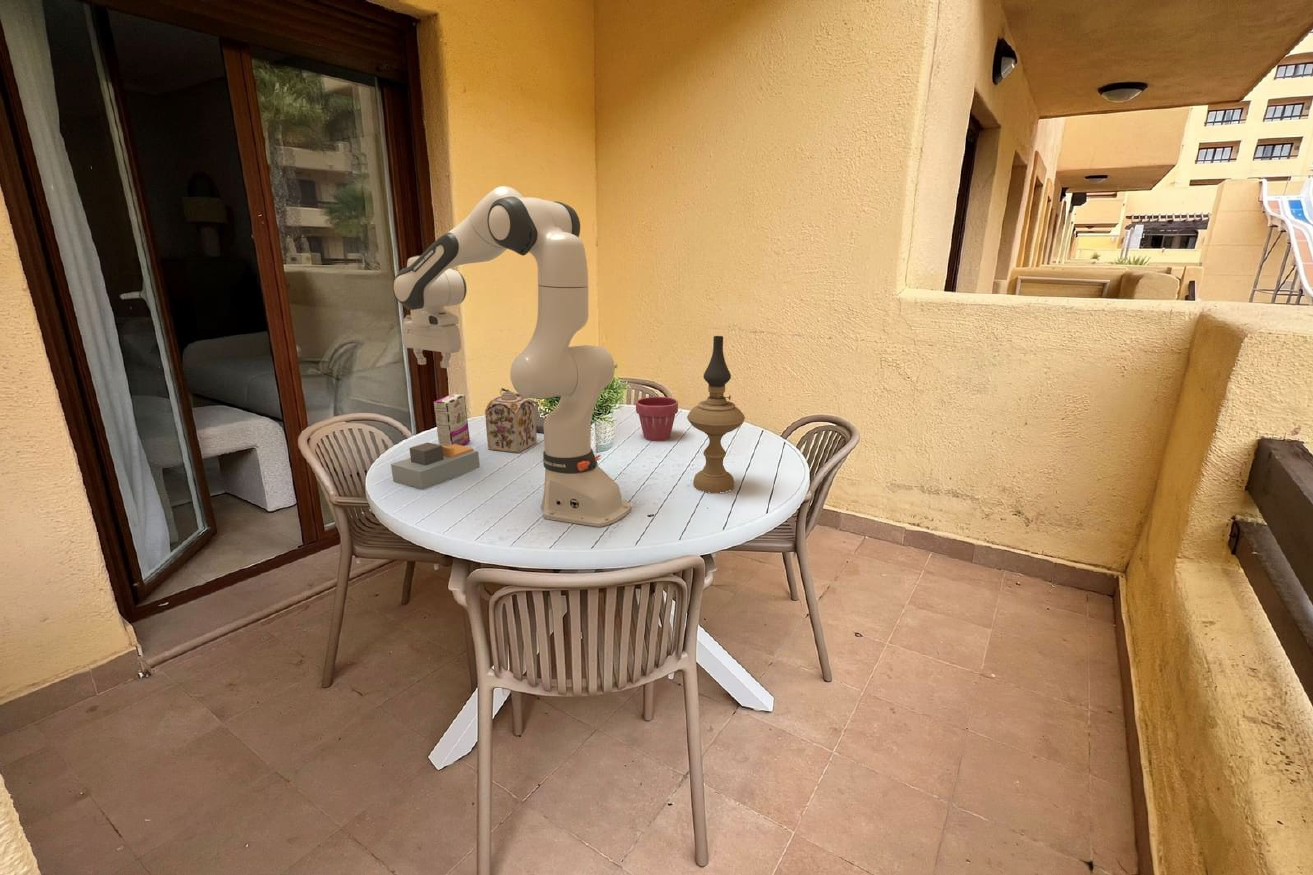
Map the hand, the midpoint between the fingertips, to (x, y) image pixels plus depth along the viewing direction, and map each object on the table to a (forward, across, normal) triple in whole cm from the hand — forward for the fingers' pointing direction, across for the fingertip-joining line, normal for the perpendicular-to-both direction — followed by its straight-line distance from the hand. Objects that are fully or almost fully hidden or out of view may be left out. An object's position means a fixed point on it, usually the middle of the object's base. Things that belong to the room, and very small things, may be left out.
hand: (433, 365), depth 165 cm
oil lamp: (+29, +77, +24) cm, 86 cm away
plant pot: (+29, +42, +56) cm, 75 cm away
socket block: (+29, +6, -7) cm, 31 cm away
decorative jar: (+30, +6, +23) cm, 38 cm away
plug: (+28, +6, -10) cm, 31 cm away
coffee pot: (+30, -2, +41) cm, 51 cm away
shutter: (+24, +6, -1) cm, 25 cm away
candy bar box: (+30, -10, +13) cm, 34 cm away
